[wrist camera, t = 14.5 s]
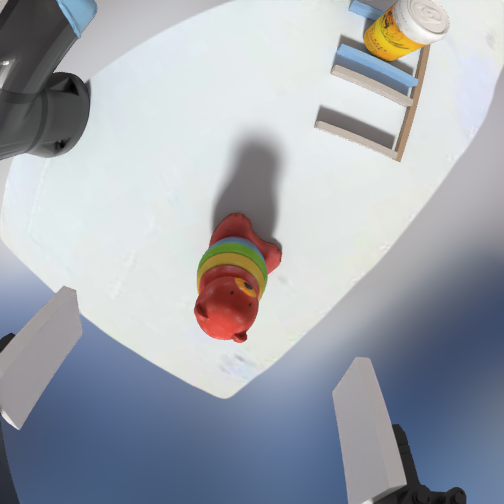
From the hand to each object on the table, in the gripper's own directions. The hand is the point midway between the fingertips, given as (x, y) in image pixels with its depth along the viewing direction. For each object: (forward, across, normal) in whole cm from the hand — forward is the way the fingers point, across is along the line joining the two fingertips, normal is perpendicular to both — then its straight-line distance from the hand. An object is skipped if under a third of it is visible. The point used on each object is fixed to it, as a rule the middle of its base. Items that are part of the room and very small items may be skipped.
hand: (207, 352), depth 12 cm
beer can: (+31, +13, +28) cm, 44 cm away
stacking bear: (+31, 0, -10) cm, 33 cm away
